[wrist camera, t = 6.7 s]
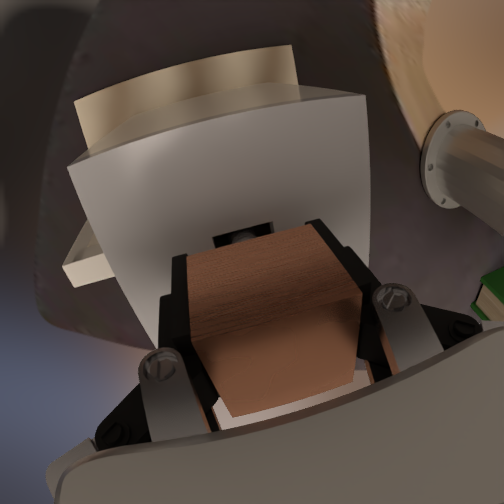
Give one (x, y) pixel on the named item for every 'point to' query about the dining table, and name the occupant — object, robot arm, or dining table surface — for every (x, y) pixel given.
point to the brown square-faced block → (273, 318)
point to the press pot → (218, 182)
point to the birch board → (182, 86)
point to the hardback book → (491, 297)
